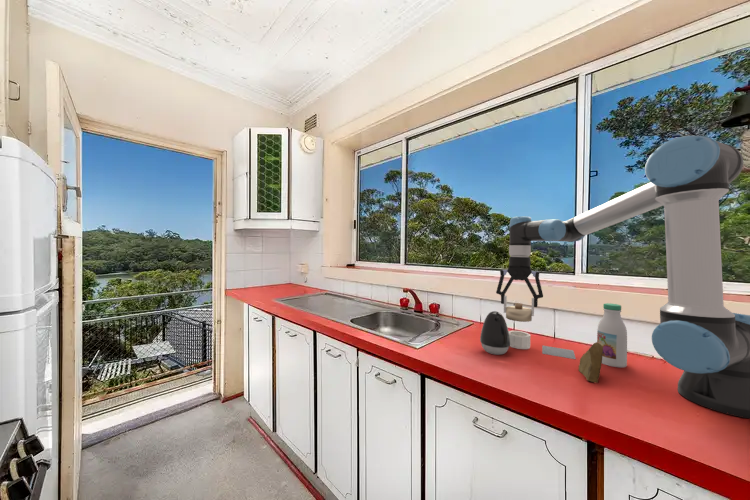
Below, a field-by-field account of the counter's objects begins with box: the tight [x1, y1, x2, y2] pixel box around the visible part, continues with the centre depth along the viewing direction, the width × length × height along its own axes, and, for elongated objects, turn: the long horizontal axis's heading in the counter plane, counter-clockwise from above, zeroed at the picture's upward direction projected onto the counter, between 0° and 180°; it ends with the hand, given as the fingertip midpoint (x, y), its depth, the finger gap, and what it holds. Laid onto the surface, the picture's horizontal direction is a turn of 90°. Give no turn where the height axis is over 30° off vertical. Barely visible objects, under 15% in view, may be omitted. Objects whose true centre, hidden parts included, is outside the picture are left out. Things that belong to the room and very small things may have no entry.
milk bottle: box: [596, 302, 628, 368], centre depth 95 cm, size 8×8×20 cm
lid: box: [505, 302, 533, 323], centre depth 111 cm, size 9×9×6 cm
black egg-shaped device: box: [479, 310, 510, 356], centre depth 104 cm, size 10×10×15 cm
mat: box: [541, 345, 577, 360], centre depth 104 cm, size 10×10×1 cm
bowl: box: [508, 330, 531, 350], centre depth 111 cm, size 8×8×5 cm
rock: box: [578, 341, 603, 384], centre depth 86 cm, size 11×9×10 cm
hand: (518, 313), depth 111 cm, fingers closed on lid, 9 cm apart
